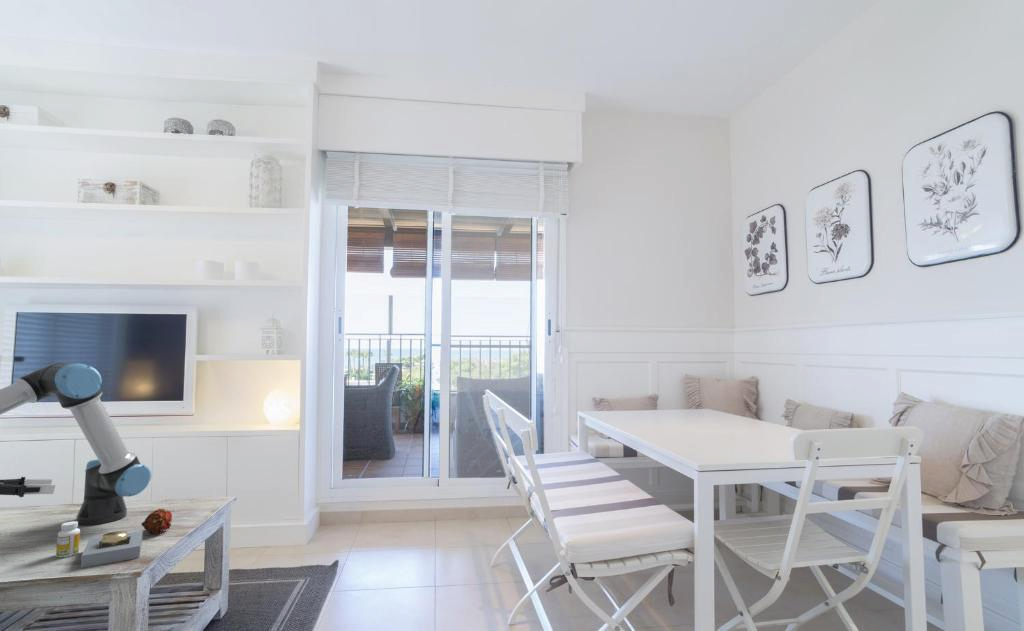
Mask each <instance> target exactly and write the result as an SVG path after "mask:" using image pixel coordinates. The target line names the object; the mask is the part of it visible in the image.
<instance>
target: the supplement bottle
mask: <svg viewBox="0 0 1024 631" xmlns="http://www.w3.org/2000/svg"><path fill="white" fill-rule="evenodd" d="M60 526H61V527H60V531H59V532H58V533H57V539H56V550H55V551H56V553H55V557H56V558H58V557H60V558H61V557H64V558H69V557H72V555H73V556H75V555H77V554H78V553H79V551H80V537H81V529H80V528H78V527H79V524H78V522H77V521H75V520H74V521H67V522H63V523H61V525H60ZM68 556H69V557H68Z"/></svg>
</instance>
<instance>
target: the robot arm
mask: <svg viewBox="0 0 1024 631" xmlns="http://www.w3.org/2000/svg"><path fill="white" fill-rule="evenodd" d="M102 382H103V381H102V376H101V373H100V372H99V371H98V369H96V368H94V366H91V365H88V364H84V363H76V362H74V363H61V362H60V363H58V362H57V363H53V364H50V365H46V366H43V367H41V368H39V369H37V370H34V371H32V372H30V373H28V374H25V375H24V376H21V377H18V378H16V379H15V381H14V383H12V384H10V385H8V386H5V387H3V388H0V416H1V415H3V414H5V413H8V412H10V411H12V410H14V409H16V408H18V407H21V406H24V405H25V404H28V403H32V404H33V403H36V402H39V401H41V400H44V399H47V398H53V397H55V398H56V399H57V401H58V402H59V404H60V407H61V408H63V409H64V410H65V409H66V410H70V412H71V414H72V416H73V417H74V419H75V421H76V422H77V424H78V426H79V427H80V430H81V432H82V433H83V434H84V437H85V439H86V440H87V442H88V444H89V445H90V447H91V449H92V451H93V453H94V455H95V457H97V459H91V460H89V461H88V462H87V463H86V468H85V470H84V471H85V475H84V476H85V478H84V490H83V491H84V495H83V502H82V503H81V506H80V507H79V511H78V513H77V515H76V518H75V520H76V521H77V522H78V525H80V524H82V526H87V525H88V526H91V525H100V524H107V523H112V522H115V521H118V520H121V519H124V518H125V517H126V516H127V515H128V509H127V505H126V503H125V499H124V497H126V498H127V497H134V496H137V495H139V494H140V493H142V492H143V491H144V490H145V489H146V488H147V487H148V486H149V483H150V481H151V480H152V471H151V469H150V467H148V466H147V465H146V464H143V463H141V461H140V460H139V458H138V457H137V455H136V453H134V452H130V451H128V449H127V447H126V445H125V443H124V442H123V441H124V440H123V439H122V438H121V436H120V434H119V432H118V430H117V428H116V426H115V423H113V421H112V418H111V417H110V415H109V413H108V411H107V410H106V407H105V406H104V403H103V402H102V400H101V396H102V395H103V390H102V388H101V385H102ZM52 482H53V478H46V479H45V478H44V479H43V478H40V479H39V478H36V479H35V478H34V479H31V478H30V479H28V478H26V476H21V477H20V478H9V479H5V478H4V479H0V496H18V497H19V498H24V497H25V495H53V494H54V492H55V489H56V484H52Z"/></svg>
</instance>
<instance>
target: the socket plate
mask: <svg viewBox="0 0 1024 631" xmlns="http://www.w3.org/2000/svg"><path fill="white" fill-rule="evenodd" d="M143 533H144V532H143V530H141V531H132V532H127V541H126V542H124V543H122V544H119V545H114V546H102V545H101V541H102V536H99V537H93V538H89V539H88V541H87V543H86V545H85V548H84V549H83V551H82V554H81V559H80V560H81V561H80V569H81V568H82V567H83V568H87V567H93V566H98V565H99V566H100V565H103V564H104V565H105V564H111V563H116V562H121V561H129V560H134V559H140V556H141V548H142V545H143V544H142V543H143ZM83 568H82V569H83Z"/></svg>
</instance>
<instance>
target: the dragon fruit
mask: <svg viewBox="0 0 1024 631" xmlns="http://www.w3.org/2000/svg"><path fill="white" fill-rule="evenodd" d="M172 521H173V514H172V512H171V511H169V510H166V509H165V508H158V509H156V510H154V511H152V512H150V513H149V514H148V515H147V517H146V518H145V519H144V521H143V522H142V523H141V526H142V527H143V528H144V530H145V531H146V532H148V533H149V532H152V533H153V534H160V533H159V532H161V533H162V532H163V531H166V530H169V529H171V526H172Z"/></svg>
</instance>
